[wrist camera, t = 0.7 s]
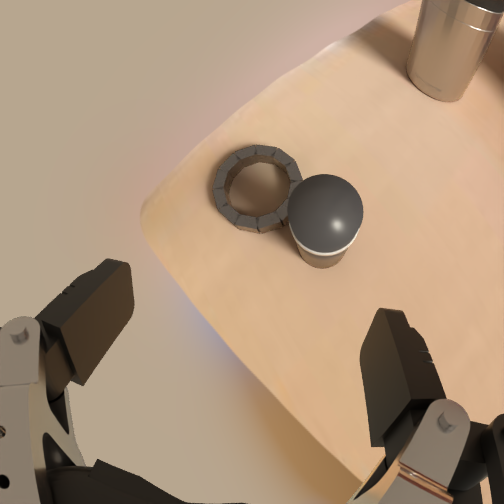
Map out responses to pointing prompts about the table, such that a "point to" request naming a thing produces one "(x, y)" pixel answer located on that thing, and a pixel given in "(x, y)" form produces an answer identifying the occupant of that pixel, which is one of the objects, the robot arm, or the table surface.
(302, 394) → the table surface
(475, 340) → the table surface
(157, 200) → the table surface
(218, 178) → the block ring
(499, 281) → the table surface
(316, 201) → the dark grey canister
